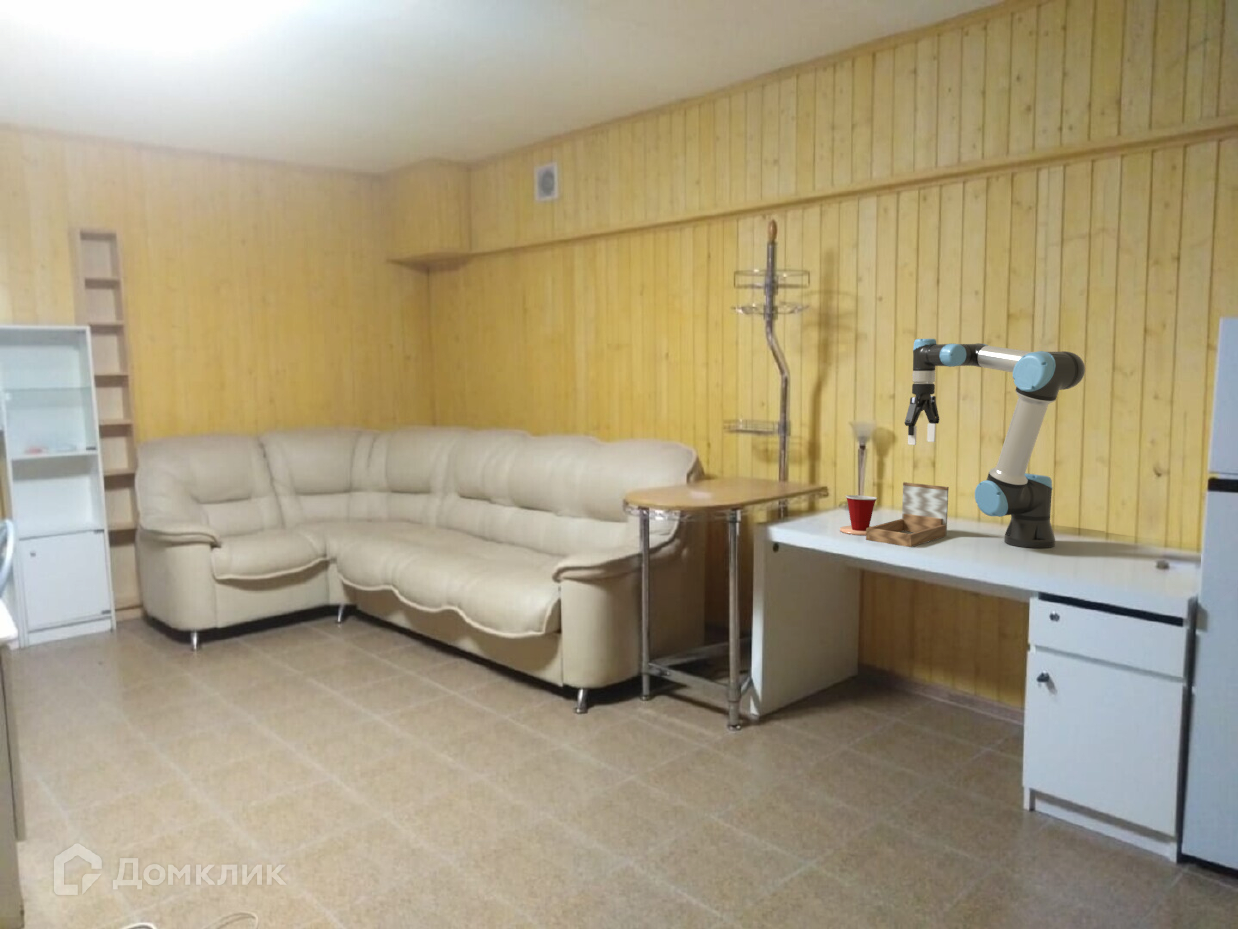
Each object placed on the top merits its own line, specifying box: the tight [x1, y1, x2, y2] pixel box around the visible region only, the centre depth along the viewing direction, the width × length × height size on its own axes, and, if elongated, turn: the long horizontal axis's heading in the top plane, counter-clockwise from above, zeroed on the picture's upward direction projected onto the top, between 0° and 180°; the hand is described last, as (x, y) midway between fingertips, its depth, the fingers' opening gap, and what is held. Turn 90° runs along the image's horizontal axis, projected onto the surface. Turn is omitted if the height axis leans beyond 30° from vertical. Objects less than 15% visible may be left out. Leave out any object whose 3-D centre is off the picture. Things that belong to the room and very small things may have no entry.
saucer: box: [839, 525, 872, 537], centre depth 312 cm, size 14×14×1 cm
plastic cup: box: [845, 494, 878, 531], centre depth 311 cm, size 11×11×12 cm
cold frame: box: [865, 481, 949, 548], centre depth 300 cm, size 16×24×17 cm
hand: (921, 443), depth 312 cm, fingers open, 13 cm apart
